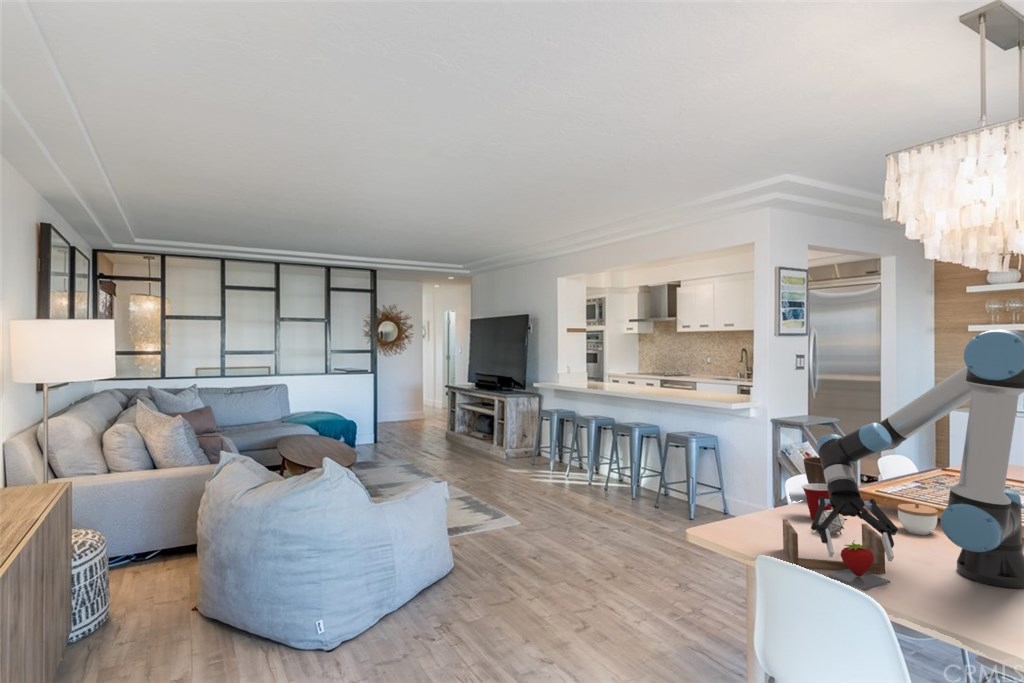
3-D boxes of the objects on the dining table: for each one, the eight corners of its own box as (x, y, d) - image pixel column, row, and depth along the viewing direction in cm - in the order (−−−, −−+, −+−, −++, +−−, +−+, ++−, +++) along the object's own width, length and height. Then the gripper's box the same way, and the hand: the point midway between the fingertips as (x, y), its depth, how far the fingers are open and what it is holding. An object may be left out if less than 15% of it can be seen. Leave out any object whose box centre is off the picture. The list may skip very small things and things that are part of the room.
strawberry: (878, 582, 142) (874, 542, 142) (844, 580, 145) (841, 541, 145) (873, 573, 148) (869, 535, 148) (840, 571, 150) (837, 534, 151)
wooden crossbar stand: (783, 549, 169) (782, 519, 169) (867, 555, 163) (866, 524, 163) (793, 566, 156) (792, 533, 156) (885, 573, 150) (884, 539, 150)
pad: (890, 582, 144) (890, 580, 144) (866, 590, 139) (866, 588, 139) (852, 569, 153) (852, 567, 153) (828, 576, 148) (828, 574, 148)
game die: (838, 546, 181) (854, 527, 175) (811, 536, 183) (826, 516, 177) (835, 526, 188) (850, 506, 183) (809, 516, 190) (823, 496, 184)
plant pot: (850, 500, 222) (849, 459, 222) (844, 508, 211) (843, 466, 211) (808, 494, 232) (807, 455, 232) (800, 502, 220) (799, 461, 220)
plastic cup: (808, 513, 206) (808, 480, 206) (841, 519, 198) (840, 485, 198) (797, 519, 198) (796, 485, 199) (830, 525, 190) (829, 490, 191)
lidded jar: (943, 532, 182) (943, 503, 182) (930, 539, 176) (929, 509, 176) (906, 524, 191) (905, 497, 191) (892, 530, 184) (891, 502, 185)
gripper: (888, 494, 158) (912, 567, 143) (791, 489, 165) (805, 559, 150) (895, 479, 153) (921, 553, 138) (795, 475, 160) (809, 546, 145)
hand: (861, 557), depth 144 cm, fingers open, 13 cm apart
